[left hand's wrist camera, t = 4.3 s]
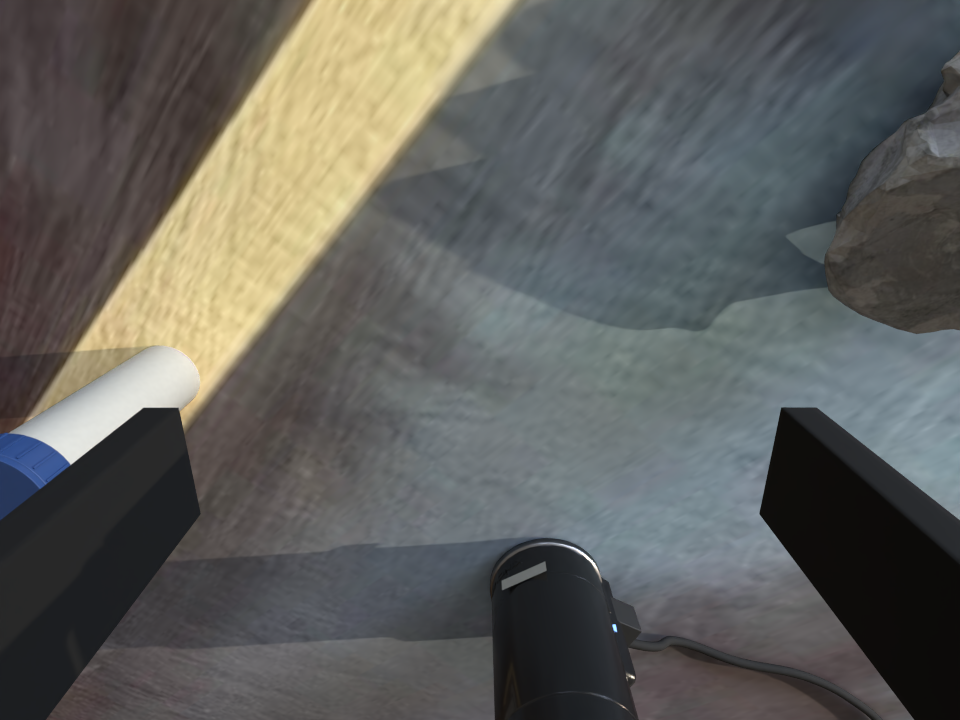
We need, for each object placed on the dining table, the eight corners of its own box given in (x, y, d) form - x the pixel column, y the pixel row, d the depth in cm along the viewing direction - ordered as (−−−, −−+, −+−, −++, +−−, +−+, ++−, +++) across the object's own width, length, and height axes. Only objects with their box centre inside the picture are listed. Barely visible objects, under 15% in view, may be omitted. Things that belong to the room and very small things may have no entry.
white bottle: (119, 373, 42) (-77, 497, 27) (161, 331, 41) (-19, 438, 26) (171, 418, 44) (12, 560, 29) (214, 379, 42) (71, 507, 28)
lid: (-58, 477, 29) (-99, 502, 27) (8, 409, 28) (-30, 430, 26) (40, 548, 31) (8, 577, 29) (107, 487, 29) (78, 513, 27)
